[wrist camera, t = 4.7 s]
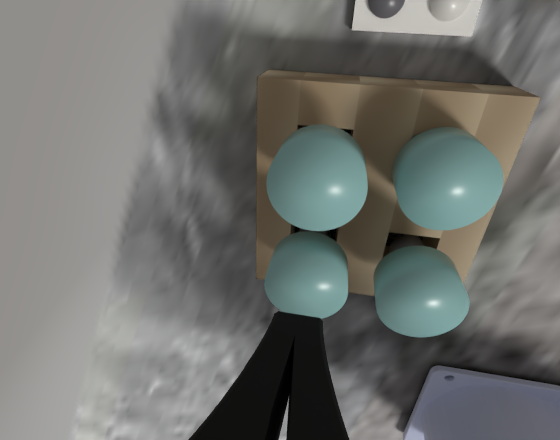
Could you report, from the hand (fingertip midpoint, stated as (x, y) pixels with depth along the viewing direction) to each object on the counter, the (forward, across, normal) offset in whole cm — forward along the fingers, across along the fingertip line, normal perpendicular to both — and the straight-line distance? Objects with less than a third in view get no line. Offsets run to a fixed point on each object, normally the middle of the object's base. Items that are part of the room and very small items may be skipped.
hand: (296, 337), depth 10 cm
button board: (+7, -2, -2) cm, 8 cm away
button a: (+6, -4, 0) cm, 7 cm away
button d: (+6, 0, -4) cm, 7 cm away
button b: (+6, 0, 0) cm, 6 cm away
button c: (+7, -4, -4) cm, 9 cm away
